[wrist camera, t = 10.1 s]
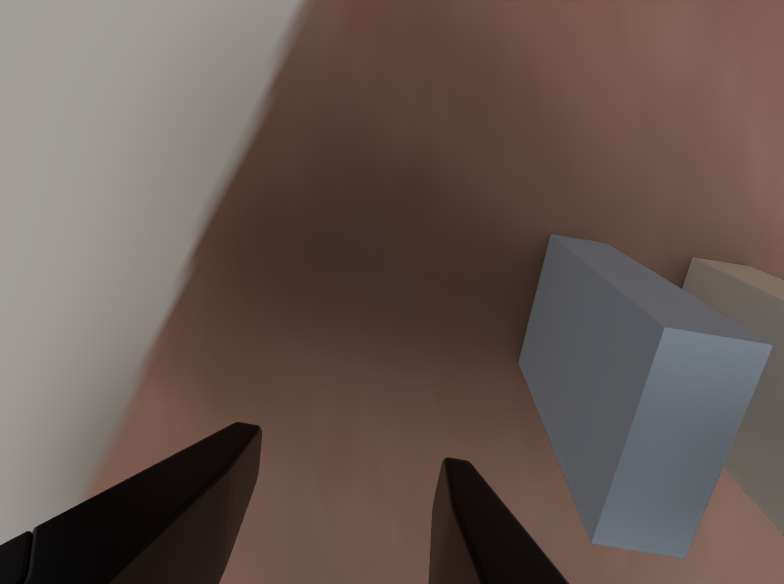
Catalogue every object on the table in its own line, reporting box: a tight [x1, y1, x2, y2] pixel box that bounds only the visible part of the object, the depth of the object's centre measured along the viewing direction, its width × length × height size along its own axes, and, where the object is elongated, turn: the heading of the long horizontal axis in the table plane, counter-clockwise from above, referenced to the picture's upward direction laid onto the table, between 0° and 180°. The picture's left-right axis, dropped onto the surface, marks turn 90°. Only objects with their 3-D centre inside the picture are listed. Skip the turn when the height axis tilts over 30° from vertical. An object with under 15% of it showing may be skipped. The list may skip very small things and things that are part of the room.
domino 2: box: [682, 257, 784, 535], centre depth 14 cm, size 5×2×9 cm, turn 172°
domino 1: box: [518, 234, 773, 559], centre depth 14 cm, size 5×2×9 cm, turn 171°
